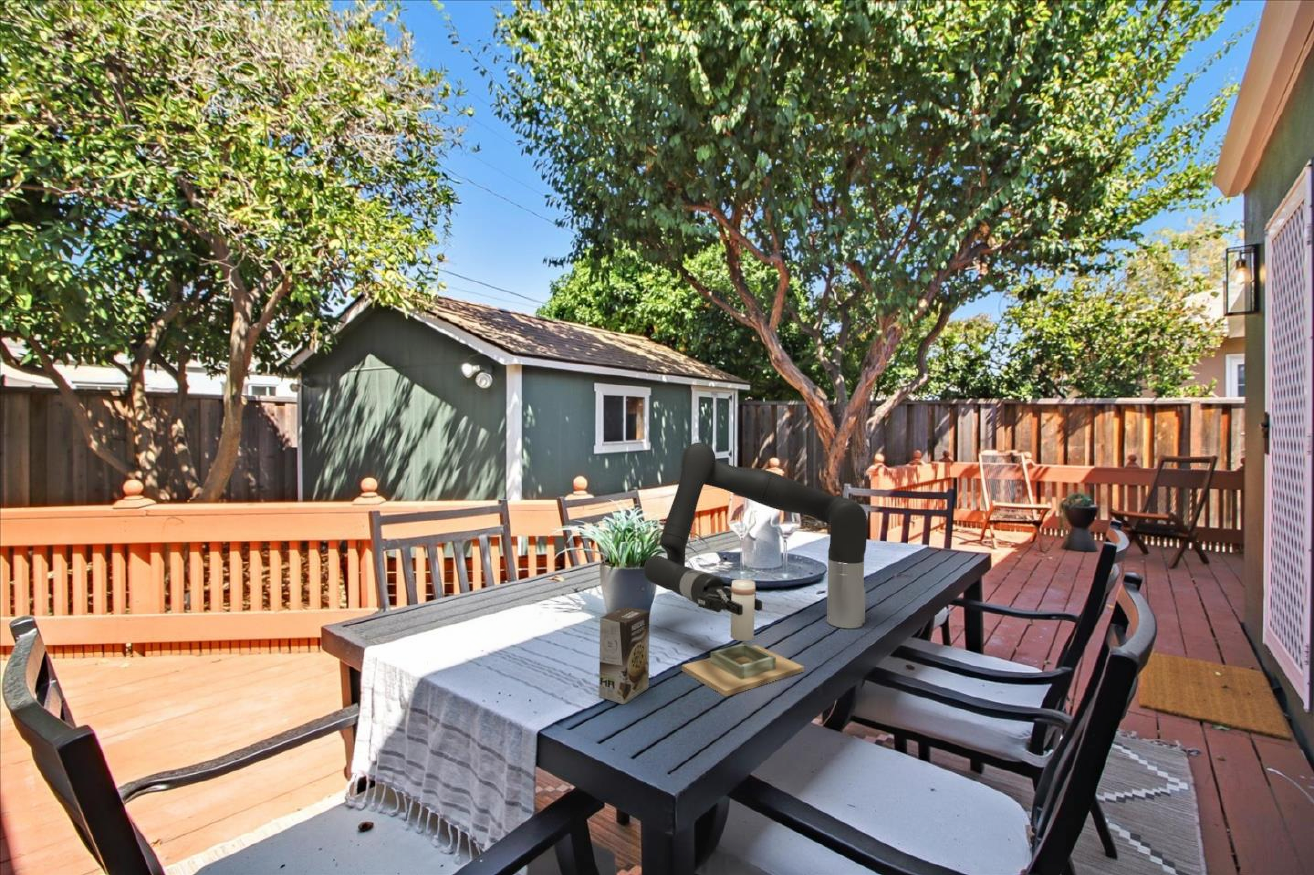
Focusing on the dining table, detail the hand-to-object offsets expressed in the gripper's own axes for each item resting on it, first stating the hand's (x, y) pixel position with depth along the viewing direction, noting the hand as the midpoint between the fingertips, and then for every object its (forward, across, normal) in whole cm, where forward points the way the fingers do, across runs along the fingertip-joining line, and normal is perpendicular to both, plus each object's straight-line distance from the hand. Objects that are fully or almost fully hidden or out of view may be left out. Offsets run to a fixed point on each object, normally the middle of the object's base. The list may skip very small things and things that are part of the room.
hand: (751, 608), depth 136 cm
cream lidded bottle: (-3, 0, +7) cm, 7 cm away
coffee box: (-7, -27, +15) cm, 32 cm away
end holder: (-2, 0, +15) cm, 15 cm away
